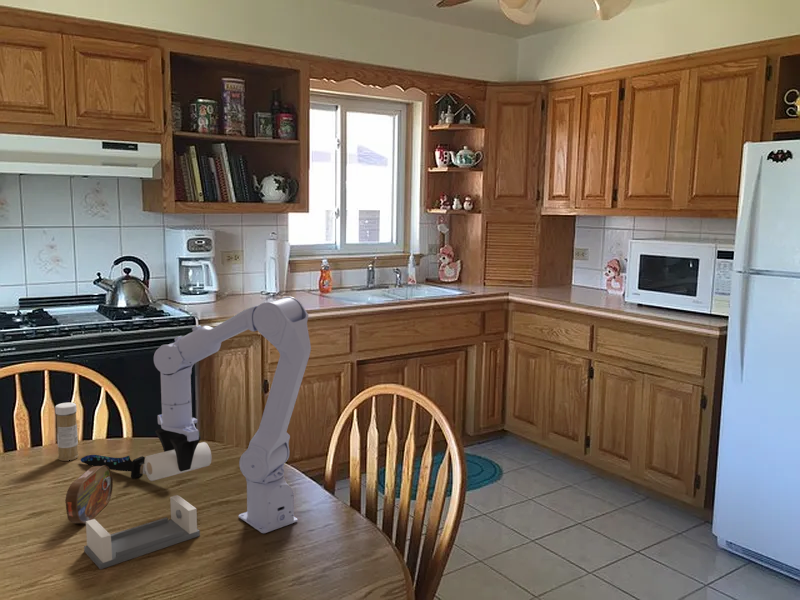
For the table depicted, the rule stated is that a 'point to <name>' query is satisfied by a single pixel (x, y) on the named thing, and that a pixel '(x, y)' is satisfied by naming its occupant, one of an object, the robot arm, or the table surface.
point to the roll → (175, 462)
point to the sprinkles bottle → (67, 431)
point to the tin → (89, 494)
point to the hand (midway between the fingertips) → (178, 465)
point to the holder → (141, 536)
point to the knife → (118, 464)
